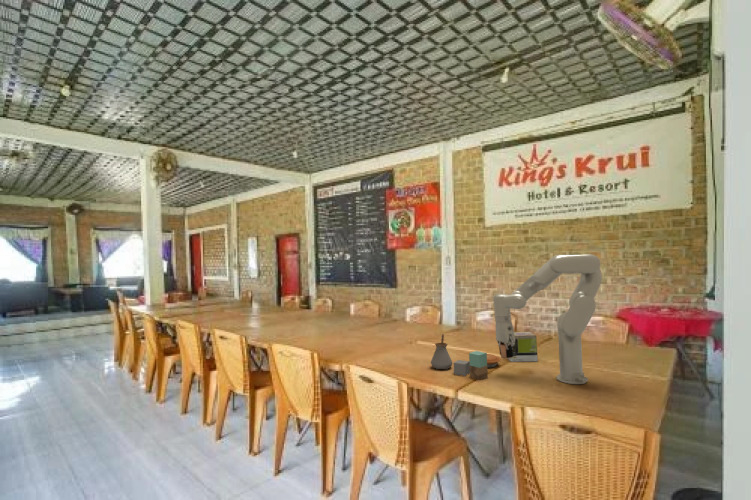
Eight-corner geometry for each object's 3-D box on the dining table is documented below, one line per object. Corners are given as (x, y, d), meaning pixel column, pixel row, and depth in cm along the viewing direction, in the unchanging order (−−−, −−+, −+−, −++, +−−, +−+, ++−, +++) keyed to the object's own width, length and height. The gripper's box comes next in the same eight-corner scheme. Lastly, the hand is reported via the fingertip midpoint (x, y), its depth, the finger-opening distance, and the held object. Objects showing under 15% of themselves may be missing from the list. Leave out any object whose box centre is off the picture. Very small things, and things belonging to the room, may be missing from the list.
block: (469, 373, 192) (469, 361, 192) (465, 376, 187) (464, 364, 187) (458, 371, 196) (458, 359, 196) (453, 374, 191) (453, 362, 191)
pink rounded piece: (513, 357, 184) (512, 345, 184) (504, 359, 183) (503, 346, 183) (508, 355, 189) (506, 343, 189) (499, 356, 188) (498, 344, 188)
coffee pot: (451, 371, 195) (450, 342, 196) (429, 370, 198) (428, 342, 199) (454, 360, 216) (453, 334, 216) (434, 359, 219) (433, 333, 219)
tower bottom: (487, 378, 183) (487, 365, 184) (477, 380, 181) (477, 367, 181) (479, 374, 189) (479, 362, 189) (469, 376, 186) (469, 364, 187)
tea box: (532, 357, 218) (531, 331, 218) (538, 362, 208) (536, 335, 208) (505, 357, 219) (504, 331, 220) (509, 362, 209) (508, 335, 210)
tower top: (487, 365, 185) (486, 353, 185) (479, 367, 181) (479, 355, 181) (476, 362, 189) (476, 350, 189) (469, 365, 185) (469, 353, 186)
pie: (464, 365, 207) (464, 355, 207) (481, 359, 217) (481, 350, 217) (489, 371, 195) (489, 361, 195) (505, 364, 205) (505, 355, 205)
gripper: (520, 320, 179) (523, 358, 179) (500, 316, 196) (503, 351, 195) (506, 322, 177) (509, 361, 177) (487, 317, 194) (490, 353, 193)
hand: (506, 355), depth 186 cm, fingers closed on pink rounded piece, 5 cm apart
